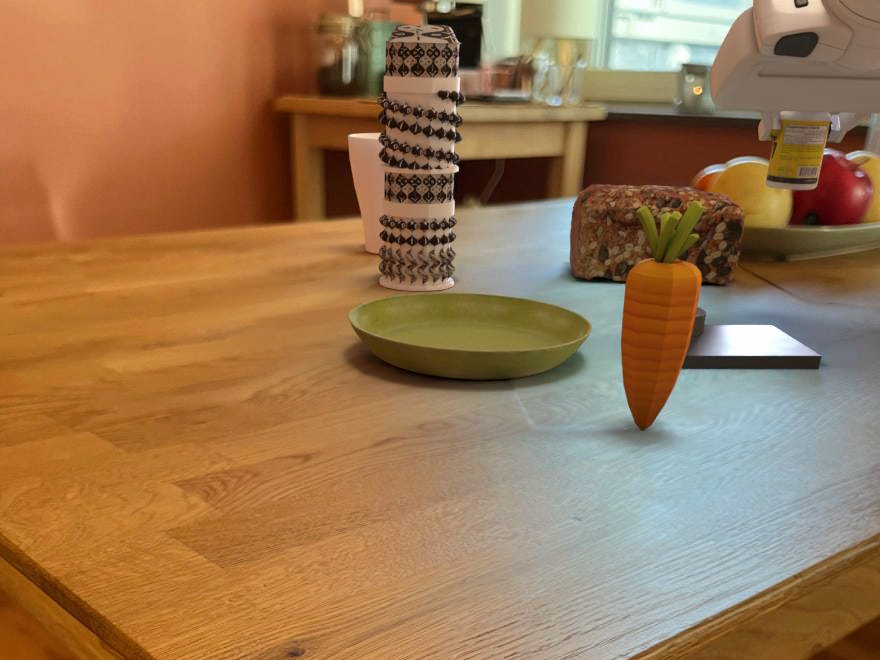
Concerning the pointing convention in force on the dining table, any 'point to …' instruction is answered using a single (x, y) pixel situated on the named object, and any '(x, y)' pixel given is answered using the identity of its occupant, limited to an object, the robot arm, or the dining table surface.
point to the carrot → (659, 314)
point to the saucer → (469, 334)
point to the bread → (624, 240)
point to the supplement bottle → (798, 150)
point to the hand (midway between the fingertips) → (797, 136)
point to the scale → (745, 348)
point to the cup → (368, 185)
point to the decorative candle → (419, 157)
